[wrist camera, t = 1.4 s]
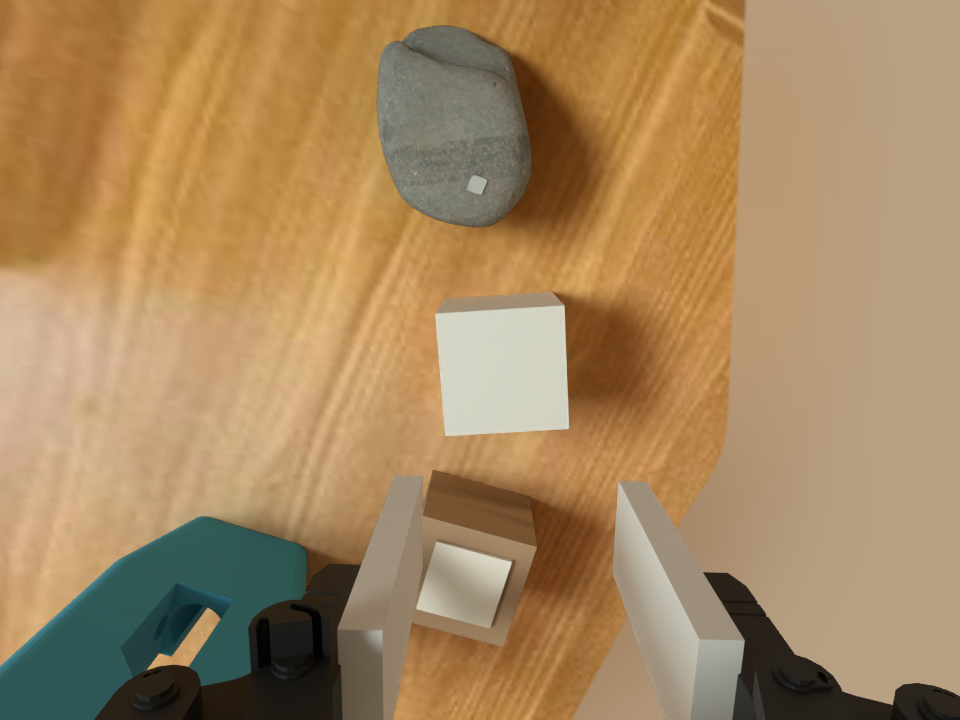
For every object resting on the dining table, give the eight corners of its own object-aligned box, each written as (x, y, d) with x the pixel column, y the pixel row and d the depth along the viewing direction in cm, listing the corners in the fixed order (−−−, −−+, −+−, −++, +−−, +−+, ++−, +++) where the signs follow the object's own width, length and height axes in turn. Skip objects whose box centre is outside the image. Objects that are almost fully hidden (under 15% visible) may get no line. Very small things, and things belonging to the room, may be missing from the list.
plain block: (444, 298, 41) (435, 313, 34) (551, 291, 40) (564, 305, 34) (452, 401, 42) (445, 436, 35) (556, 395, 42) (569, 428, 35)
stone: (547, 36, 37) (548, 86, 29) (524, 178, 43) (520, 251, 35) (397, 15, 37) (358, 60, 29) (394, 160, 43) (361, 229, 35)
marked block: (433, 469, 43) (421, 518, 36) (529, 496, 43) (537, 549, 36) (407, 557, 45) (391, 620, 37) (500, 582, 45) (503, 650, 38)
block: (333, 554, 45) (212, 813, 25) (316, 613, 46) (186, 906, 26) (169, 505, 44) (-87, 731, 24) (155, 566, 45) (-102, 830, 25)
